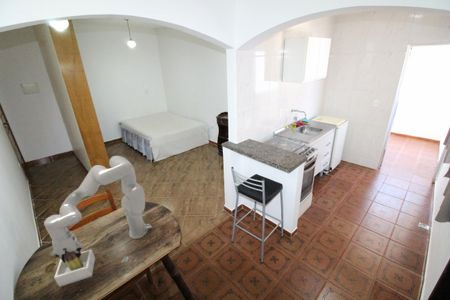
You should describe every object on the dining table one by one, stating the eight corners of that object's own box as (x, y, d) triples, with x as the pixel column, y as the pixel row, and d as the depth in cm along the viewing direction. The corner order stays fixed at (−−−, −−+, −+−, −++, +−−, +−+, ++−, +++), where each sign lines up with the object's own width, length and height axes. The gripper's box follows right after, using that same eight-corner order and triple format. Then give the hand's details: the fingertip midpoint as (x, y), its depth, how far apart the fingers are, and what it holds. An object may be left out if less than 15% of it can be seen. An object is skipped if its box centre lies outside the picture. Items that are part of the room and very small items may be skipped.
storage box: (95, 258, 136) (91, 249, 132) (91, 276, 125) (87, 267, 121) (65, 266, 131) (60, 257, 127) (59, 287, 120) (54, 277, 116)
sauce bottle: (74, 263, 129) (62, 240, 120) (85, 262, 130) (74, 239, 121) (68, 274, 123) (55, 250, 115) (80, 273, 124) (67, 249, 115)
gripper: (80, 226, 121) (90, 248, 129) (43, 235, 115) (56, 258, 123) (77, 236, 114) (88, 258, 122) (38, 246, 109) (52, 269, 117)
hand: (72, 258), depth 123 cm, fingers closed on sauce bottle, 6 cm apart
